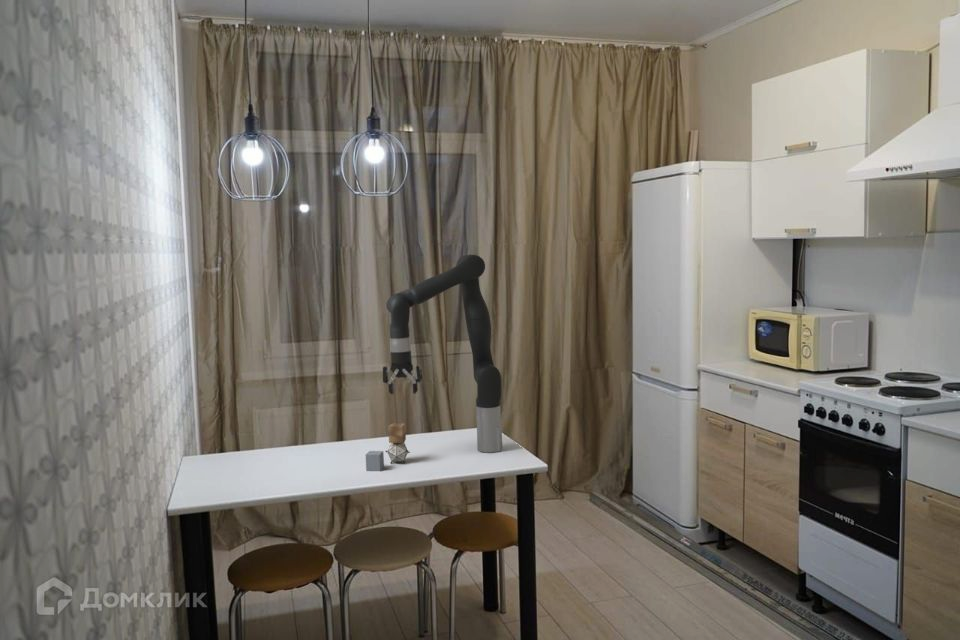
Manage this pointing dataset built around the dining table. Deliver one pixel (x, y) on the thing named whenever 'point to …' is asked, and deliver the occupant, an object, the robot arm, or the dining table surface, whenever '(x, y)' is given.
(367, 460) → the slate block
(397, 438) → the walnut block
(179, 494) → the dining table surface
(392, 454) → the game die
